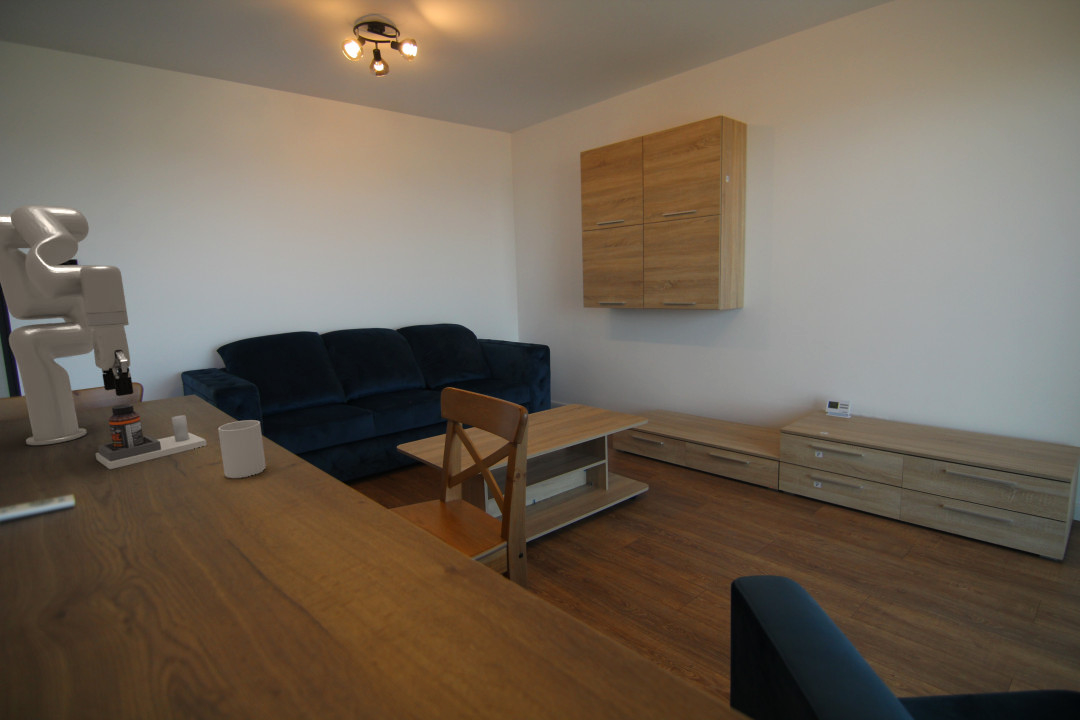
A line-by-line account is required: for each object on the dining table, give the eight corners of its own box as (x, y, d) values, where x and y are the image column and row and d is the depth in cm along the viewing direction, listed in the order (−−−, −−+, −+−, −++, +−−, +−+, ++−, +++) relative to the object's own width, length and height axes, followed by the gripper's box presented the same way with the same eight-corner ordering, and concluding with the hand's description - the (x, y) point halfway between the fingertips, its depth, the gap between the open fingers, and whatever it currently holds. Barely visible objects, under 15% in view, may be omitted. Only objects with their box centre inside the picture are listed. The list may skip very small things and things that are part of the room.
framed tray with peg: (96, 459, 132) (91, 429, 130) (189, 437, 147) (185, 410, 145) (109, 469, 124) (104, 437, 123) (206, 445, 139) (202, 417, 138)
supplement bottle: (108, 454, 130) (99, 408, 128) (132, 446, 135) (125, 402, 134) (126, 456, 128) (118, 409, 126) (151, 448, 134) (143, 403, 132)
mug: (271, 470, 119) (266, 423, 117) (232, 481, 113) (225, 432, 111) (250, 459, 127) (244, 415, 125) (212, 469, 121) (206, 423, 120)
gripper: (78, 319, 129) (90, 390, 132) (97, 323, 118) (109, 400, 121) (117, 316, 135) (127, 384, 138) (138, 320, 124) (149, 394, 127)
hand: (119, 391), depth 130 cm, fingers open, 9 cm apart
